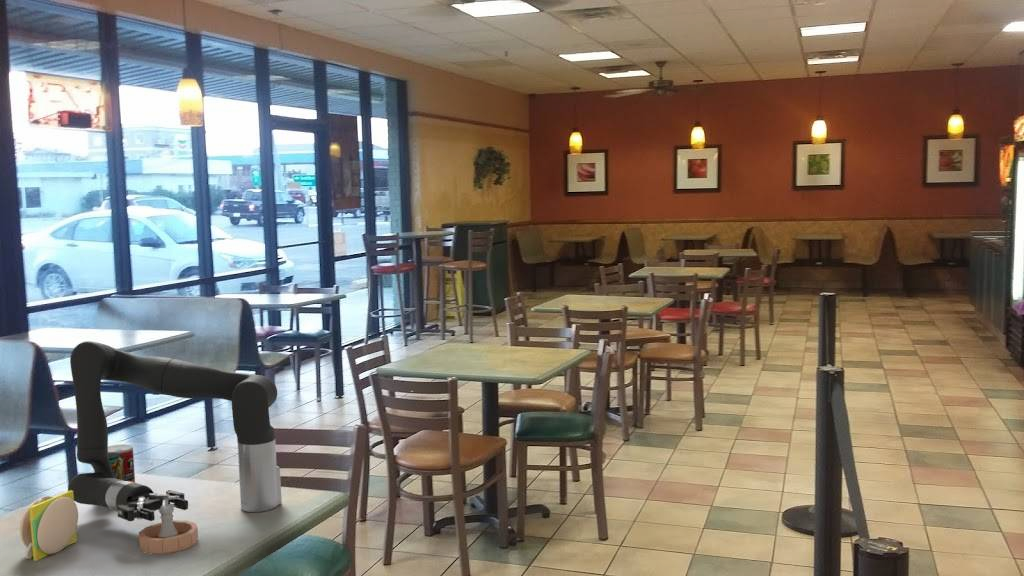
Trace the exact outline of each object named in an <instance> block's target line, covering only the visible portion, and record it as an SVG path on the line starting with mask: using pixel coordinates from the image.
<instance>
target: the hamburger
mask: <svg viewBox="0 0 1024 576" xmlns="http://www.w3.org/2000/svg"><path fill="white" fill-rule="evenodd" d="M76 503H77V502H75V501H74V495H73V491H72V490H70V491H68V490H67V491H66V492H63V493H60V494H58V495H55V496H43V497H40V498H38V499H35V501H33V502H32V503H31V504H29V506H28V507H27V508H26V509H25V511H24V513H23V515H22V518H21V520H20V525H19V537H20V540H21V541H22V543H23V545H24V546H25V547H26V550H25V552H24V558H25V559H27V560H31V558H33V561H34V562H36V561H39V560H41V559H43V558H45V557H48V556H49V555H53V554H54V555H55V554H57V553H59V552H61V551H62V550H64V548H66V547H67V545H68V546H70V545H72V544H73V542H74V543H76V542H78V540H77V539H78V537H77V530H78V522H79V511H78V506H77V504H76ZM75 541H76V542H75ZM65 546H66V547H65Z"/></svg>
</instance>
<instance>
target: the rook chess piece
mask: <svg viewBox="0 0 1024 576" xmlns="http://www.w3.org/2000/svg"><path fill="white" fill-rule="evenodd" d="M171 504H172V503H170V504H169V506H167V505H165V504H164V505H162V506H161V507H160V508H161V509H160V510H158V512H159V514H160V515H161V516H160V519H161V522H160V523H161V530H160V533H159V534H158V537H159V538H168V537H175V536H178V535H177V534H178V531H177V530H176V528H175V527H174V524H173V521H174V515H173V512H174V511H175V507H172V505H171ZM164 506H165V507H164Z"/></svg>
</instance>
